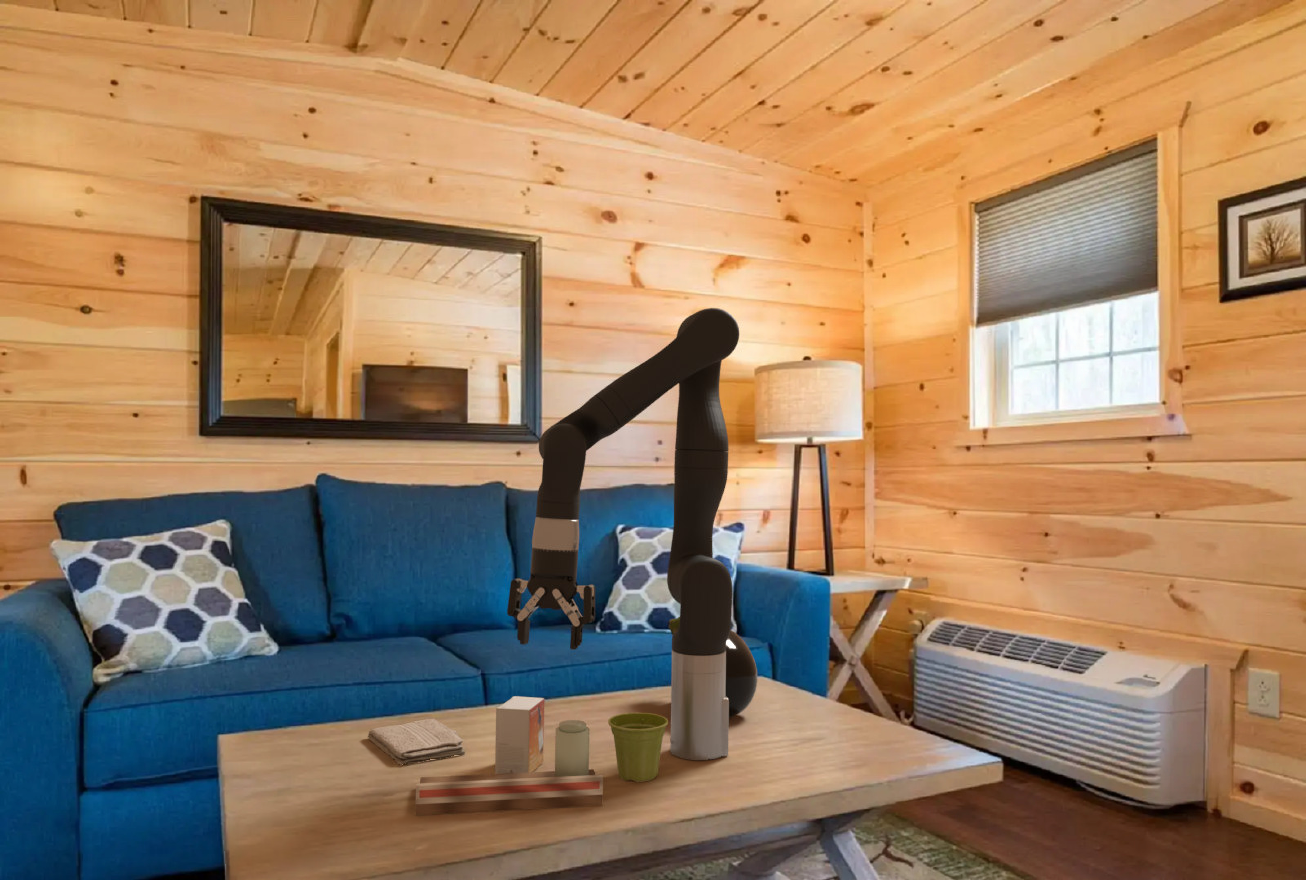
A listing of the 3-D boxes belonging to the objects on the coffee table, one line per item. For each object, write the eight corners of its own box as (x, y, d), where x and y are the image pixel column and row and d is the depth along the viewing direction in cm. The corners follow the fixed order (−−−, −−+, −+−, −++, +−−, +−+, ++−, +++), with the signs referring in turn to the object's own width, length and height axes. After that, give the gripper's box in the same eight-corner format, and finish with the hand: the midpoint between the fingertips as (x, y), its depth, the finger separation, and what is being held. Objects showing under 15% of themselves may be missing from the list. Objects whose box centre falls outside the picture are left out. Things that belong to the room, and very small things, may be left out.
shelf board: (593, 778, 143) (593, 752, 143) (602, 805, 132) (603, 777, 133) (420, 787, 139) (421, 760, 139) (415, 815, 128) (415, 786, 128)
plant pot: (623, 790, 139) (624, 731, 139) (597, 771, 147) (598, 716, 147) (678, 780, 143) (678, 724, 143) (650, 762, 151) (650, 709, 152)
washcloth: (400, 770, 148) (401, 750, 148) (364, 741, 162) (365, 723, 162) (470, 757, 154) (470, 739, 155) (429, 731, 169) (430, 713, 169)
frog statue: (690, 750, 175) (641, 682, 197) (763, 737, 181) (708, 673, 203) (699, 660, 170) (648, 601, 192) (774, 650, 176) (716, 594, 198)
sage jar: (586, 777, 140) (587, 718, 140) (590, 788, 135) (591, 727, 135) (553, 778, 139) (554, 719, 139) (555, 790, 134) (557, 729, 134)
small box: (528, 778, 143) (529, 710, 144) (494, 775, 144) (495, 707, 145) (544, 762, 151) (545, 697, 151) (512, 759, 152) (513, 694, 152)
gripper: (603, 548, 153) (597, 647, 152) (522, 542, 157) (516, 638, 156) (590, 550, 146) (583, 654, 145) (505, 544, 149) (498, 645, 148)
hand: (548, 646), depth 150 cm, fingers open, 8 cm apart
